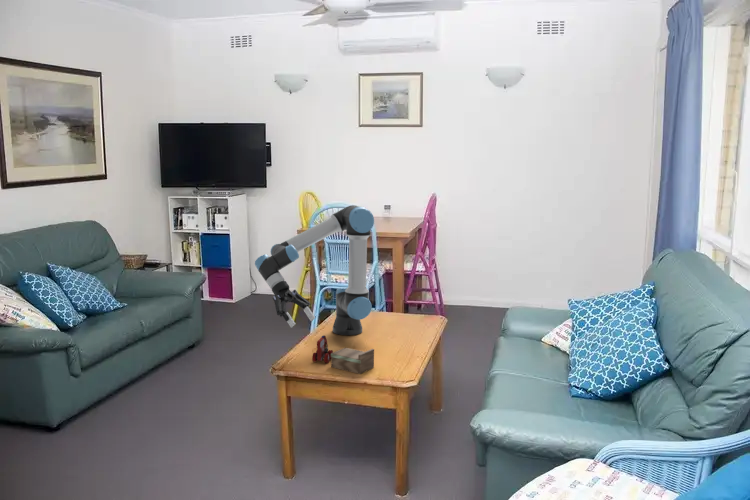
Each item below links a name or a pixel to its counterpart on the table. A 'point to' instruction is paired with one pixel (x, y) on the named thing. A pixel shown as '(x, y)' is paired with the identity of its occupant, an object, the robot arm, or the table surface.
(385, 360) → the table surface
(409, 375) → the table surface
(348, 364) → the stand
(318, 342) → the toy fire truck
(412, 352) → the table surface
